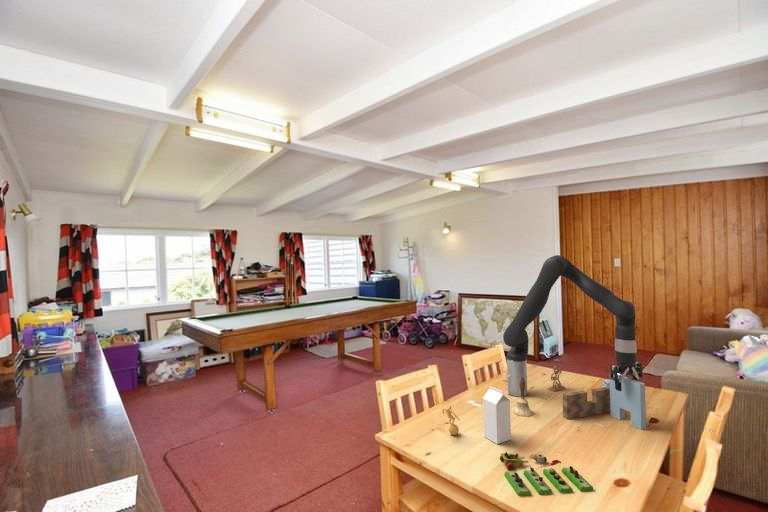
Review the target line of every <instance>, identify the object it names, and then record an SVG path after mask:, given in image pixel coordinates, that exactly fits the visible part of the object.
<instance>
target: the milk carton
mask: <svg viewBox="0 0 768 512" xmlns="http://www.w3.org/2000/svg"><path fill="white" fill-rule="evenodd" d="M482 407H483V408H482V412H483V413H482V414H483V416H482V417H483V418H482V419H483V437H484V438H485V439H488V440H490V441H491V442H493V444H496V445H498V444H502V443H505V442H507V441H510V440H511V439H512V431H511V428H512V427H511V426H512V425H511V399H509V398H508V397H507V396H506V395H505V394H504V391H503V390H501V389H498V388H496V387H493V386H491V385H489V386H488V390H487V391H486V393H485V394H484V396H483V397H482Z"/></svg>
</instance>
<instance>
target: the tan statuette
mask: <svg viewBox="0 0 768 512" xmlns="http://www.w3.org/2000/svg"><path fill="white" fill-rule="evenodd" d="M561 374H562V368H561V367H559V366H558V365H554V367H553V373H551V375H550V376H551V377H550V380H551V381H553V383H552V385H551V386H550V387H547V390H548V391H550V392H553V393H556V392H559V391H563V390H565V389H566V386H564V385H562V383H561V382H560V377H559V376H560V375H561Z"/></svg>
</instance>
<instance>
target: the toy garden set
mask: <svg viewBox="0 0 768 512" xmlns="http://www.w3.org/2000/svg"><path fill="white" fill-rule="evenodd" d="M523 459H526V456H520V455H519V453H508V452H506V451H505V452H500V456H499V460H500V462H503V464H504V465H505V467H506V469H507V471H505V472H504V474H503V476H504V477H505V479H506V480H507V482H508V483H509V485H510V486H511V488H512V489H513V491H514V492H515V493H516V495H517V497H522V496H523V497H524V496H532V492H531V490H530V489H529V487H528V486H527V484H526V483H525V482H524V480H523V479H522V478H521V477H520V476H519V473H518V472H517V471H516V469H515V468H519V467H520V465H521V464H522V463H529V460H523ZM531 459H533V460H534V461H535V462H536V463H537V464H538V465H543V466H540V467H539V466H538V467H536V468H535V467H532V466H530V468H529V469H530V470H527V469H525V470H523V476H524V477H525V479H526V480H527V481H528V482H529V483H530V485H531V486H532V487H533V489H534V490H535V491H536V493H537V494H538V495H551V494H553V490H552V488H551V487H550V486H549V485H548V484H547V482H546V481H545V480H544V478H543V476H540V474H539V473H538V472H537V471H536V469H541V468H544V469H543V470H542V474H543V475H544V477H545V478H546V479H547V480H548V481H549V482H550V483H551V485H553V487H554V488H555V489H556V490H557V491H558V492H559V493H560V494H565V493H566V494H567V493H573V492H574V490H573V487H571V486H570V485H569V483H567V481H566V480H565V479H564V478H563V477H562V476H561V475H560V474H559V473H558V472H557V471H556V469H554V468H553V467H551V466H555V465H557V464H562V461H561V460H558V459H554V460H552V461H551V463H549V464H546V463H547V461H548V460H547V459H548V458H547V457H546V456H545V455H544V454H542V453H536V455H535V454H533V455H532V456H531ZM544 464H546V465H544ZM549 466H550V467H551V468H545V467H549ZM561 473H562V474H563V475H564V476H565V477H566V478H567V479H568V480H569V481H570V482H571V483H572V485H573V486H575V488H576V489H577V490H578V491H579V492H590V491H594V487H593V485H591V484H590V483H589V482H588V481H587V480H586V479H585V478H584V477H583V476H582V475H581V474H580V473H579V472H578V470H577V469H575V468H574V467H573V466H572V465H570V466H569V467H565V466H564V467H562V469H561Z"/></svg>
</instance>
